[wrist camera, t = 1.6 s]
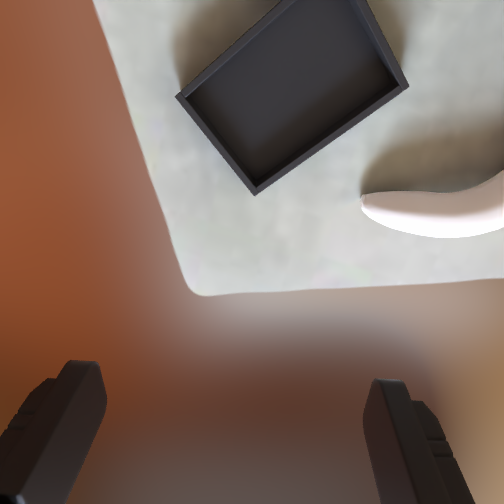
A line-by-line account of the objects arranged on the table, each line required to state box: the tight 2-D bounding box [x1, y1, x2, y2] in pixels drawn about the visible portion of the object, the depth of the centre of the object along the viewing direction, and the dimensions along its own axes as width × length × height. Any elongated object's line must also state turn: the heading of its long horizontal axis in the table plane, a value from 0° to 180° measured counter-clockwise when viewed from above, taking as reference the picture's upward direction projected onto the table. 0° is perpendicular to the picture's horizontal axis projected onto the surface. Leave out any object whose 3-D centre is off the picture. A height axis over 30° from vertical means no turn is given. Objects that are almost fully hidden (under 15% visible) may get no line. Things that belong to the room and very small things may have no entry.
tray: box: [175, 0, 409, 196], centre depth 30 cm, size 15×11×2 cm
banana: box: [360, 170, 504, 238], centre depth 31 cm, size 5×19×15 cm
